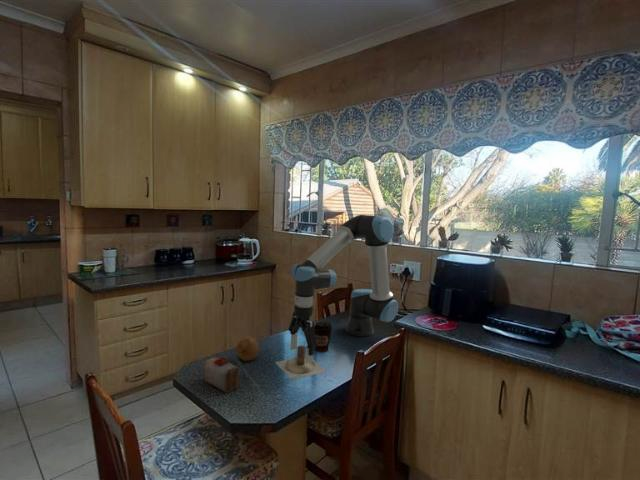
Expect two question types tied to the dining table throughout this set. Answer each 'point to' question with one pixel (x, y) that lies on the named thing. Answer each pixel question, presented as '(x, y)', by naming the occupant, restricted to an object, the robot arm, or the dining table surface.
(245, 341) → the onion
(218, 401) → the dining table surface
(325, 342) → the coffee cup
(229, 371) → the food item
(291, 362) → the lid
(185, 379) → the dining table surface
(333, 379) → the dining table surface
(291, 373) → the mat
